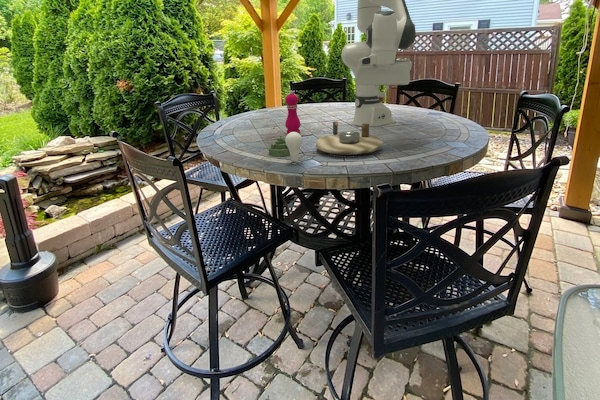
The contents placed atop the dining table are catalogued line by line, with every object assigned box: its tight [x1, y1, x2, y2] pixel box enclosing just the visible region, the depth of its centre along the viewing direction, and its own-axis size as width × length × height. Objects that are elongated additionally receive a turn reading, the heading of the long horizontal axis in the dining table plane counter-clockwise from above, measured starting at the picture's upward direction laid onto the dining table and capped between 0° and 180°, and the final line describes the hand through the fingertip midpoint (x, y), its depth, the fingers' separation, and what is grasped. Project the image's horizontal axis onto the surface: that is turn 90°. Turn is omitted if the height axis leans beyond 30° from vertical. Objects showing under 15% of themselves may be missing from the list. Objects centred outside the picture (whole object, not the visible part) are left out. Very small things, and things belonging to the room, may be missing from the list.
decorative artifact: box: [268, 135, 291, 158], centre depth 146 cm, size 10×7×10 cm
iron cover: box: [338, 130, 361, 144], centre depth 145 cm, size 8×8×4 cm
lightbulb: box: [284, 132, 303, 163], centre depth 133 cm, size 6×6×11 cm
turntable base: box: [324, 152, 373, 158], centre depth 147 cm, size 20×20×2 cm
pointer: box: [332, 121, 339, 135], centre depth 160 cm, size 6×5×8 cm
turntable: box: [315, 123, 383, 154], centre depth 145 cm, size 26×26×6 cm
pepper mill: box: [284, 90, 301, 136], centre depth 173 cm, size 7×7×20 cm
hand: (381, 97), depth 143 cm, fingers closed
